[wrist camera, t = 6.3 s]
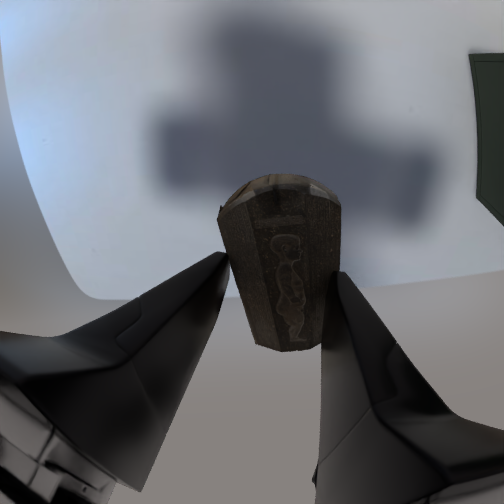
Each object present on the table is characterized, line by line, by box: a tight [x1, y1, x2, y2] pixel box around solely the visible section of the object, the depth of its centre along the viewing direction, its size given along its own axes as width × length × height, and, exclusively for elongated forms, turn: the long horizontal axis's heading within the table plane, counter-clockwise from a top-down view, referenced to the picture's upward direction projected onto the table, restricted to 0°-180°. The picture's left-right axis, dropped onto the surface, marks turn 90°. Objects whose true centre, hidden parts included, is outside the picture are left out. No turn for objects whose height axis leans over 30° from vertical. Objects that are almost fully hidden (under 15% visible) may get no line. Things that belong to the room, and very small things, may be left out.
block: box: [217, 174, 341, 352], centre depth 9 cm, size 4×6×2 cm, turn 13°
